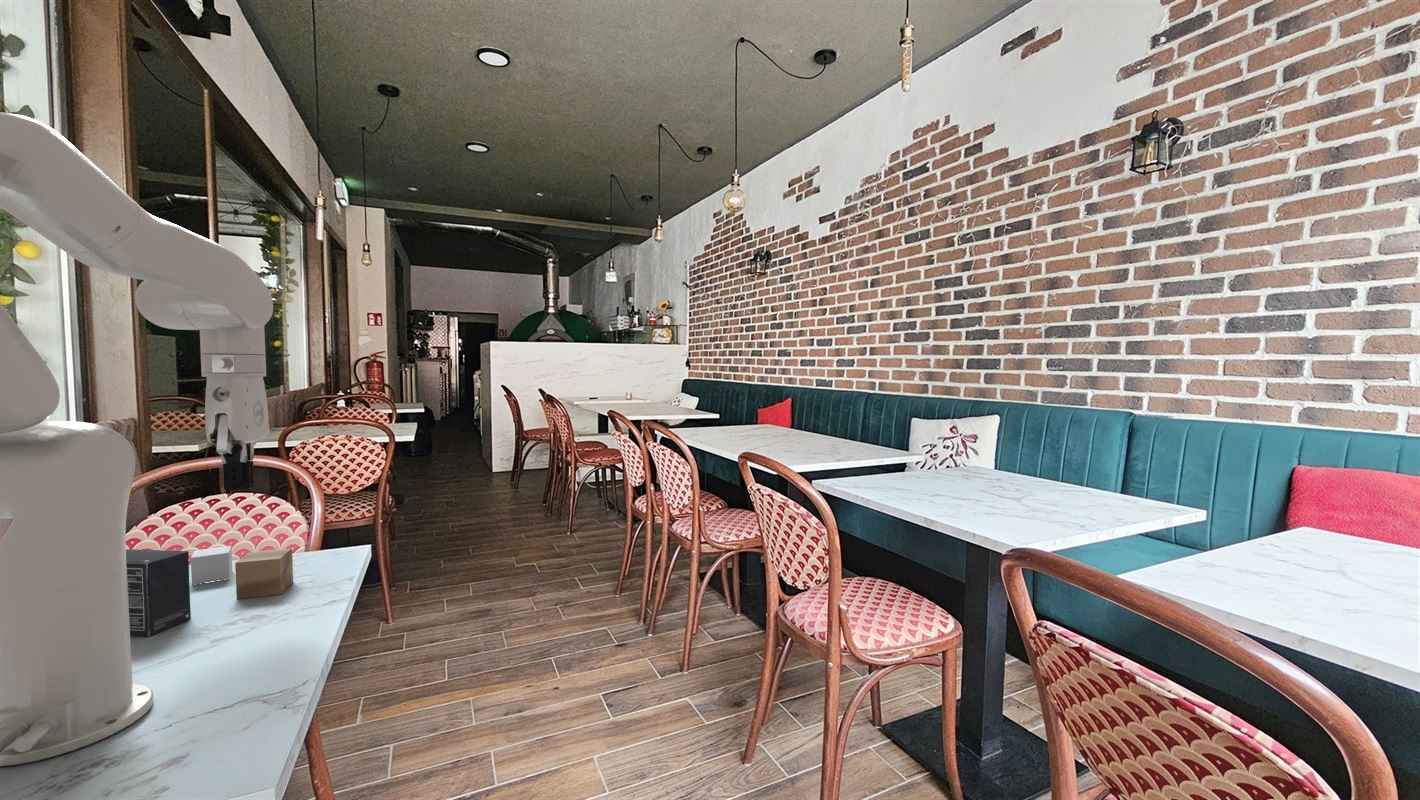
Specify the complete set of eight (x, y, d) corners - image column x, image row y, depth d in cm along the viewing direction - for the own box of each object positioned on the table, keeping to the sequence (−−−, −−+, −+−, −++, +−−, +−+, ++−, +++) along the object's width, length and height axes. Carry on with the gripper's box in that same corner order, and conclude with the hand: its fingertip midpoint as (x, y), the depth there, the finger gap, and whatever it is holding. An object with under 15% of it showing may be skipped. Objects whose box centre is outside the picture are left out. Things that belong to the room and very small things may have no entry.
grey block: (229, 580, 102) (228, 552, 102) (191, 586, 99) (190, 557, 99) (232, 572, 106) (231, 545, 106) (196, 578, 103) (195, 550, 103)
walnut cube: (281, 594, 95) (279, 558, 95) (236, 599, 93) (235, 562, 93) (293, 582, 101) (292, 548, 101) (251, 586, 99) (250, 551, 99)
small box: (195, 618, 86) (192, 549, 86) (149, 638, 80) (145, 563, 79) (131, 615, 87) (128, 546, 87) (81, 634, 81) (77, 560, 80)
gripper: (244, 366, 81) (249, 496, 82) (281, 367, 95) (285, 478, 96) (177, 366, 79) (183, 500, 79) (225, 367, 93) (230, 481, 94)
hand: (239, 488), depth 88 cm, fingers closed
